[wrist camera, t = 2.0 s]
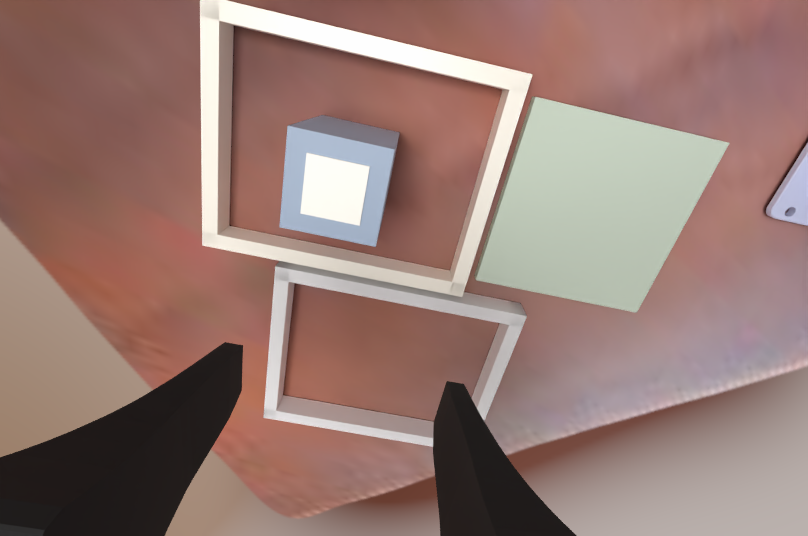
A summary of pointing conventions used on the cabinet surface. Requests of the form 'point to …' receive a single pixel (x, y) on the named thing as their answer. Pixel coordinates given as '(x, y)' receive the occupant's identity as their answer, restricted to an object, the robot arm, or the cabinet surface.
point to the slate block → (337, 178)
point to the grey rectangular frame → (467, 305)
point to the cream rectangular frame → (226, 14)
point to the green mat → (593, 204)
